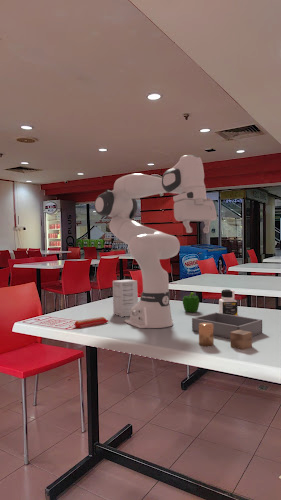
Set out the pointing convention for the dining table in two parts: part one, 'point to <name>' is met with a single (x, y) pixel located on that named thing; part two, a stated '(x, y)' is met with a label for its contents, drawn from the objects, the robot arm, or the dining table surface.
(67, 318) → the dining table surface
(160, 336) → the dining table surface
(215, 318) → the box
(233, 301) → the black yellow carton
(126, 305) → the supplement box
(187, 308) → the bell pepper
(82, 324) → the candy bar
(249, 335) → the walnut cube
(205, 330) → the copper tin
